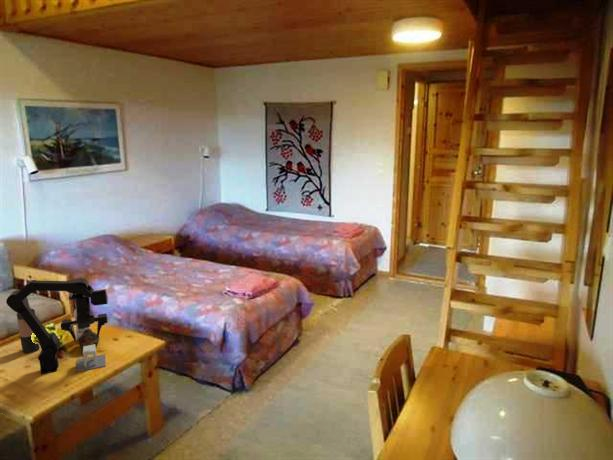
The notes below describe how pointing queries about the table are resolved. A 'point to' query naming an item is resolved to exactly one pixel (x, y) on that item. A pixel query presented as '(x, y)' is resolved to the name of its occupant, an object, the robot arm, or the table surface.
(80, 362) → the mat
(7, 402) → the table surface
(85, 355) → the notched white block
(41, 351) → the robot arm
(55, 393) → the table surface
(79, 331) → the plastic bottle
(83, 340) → the painted clay ocarina
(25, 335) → the travel mug
